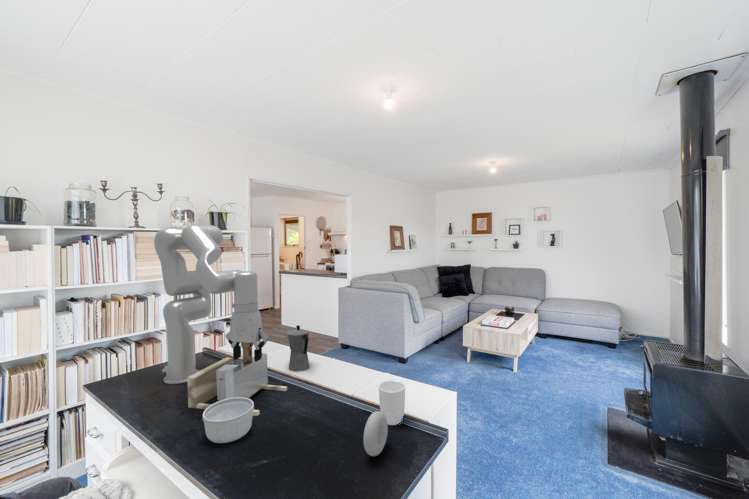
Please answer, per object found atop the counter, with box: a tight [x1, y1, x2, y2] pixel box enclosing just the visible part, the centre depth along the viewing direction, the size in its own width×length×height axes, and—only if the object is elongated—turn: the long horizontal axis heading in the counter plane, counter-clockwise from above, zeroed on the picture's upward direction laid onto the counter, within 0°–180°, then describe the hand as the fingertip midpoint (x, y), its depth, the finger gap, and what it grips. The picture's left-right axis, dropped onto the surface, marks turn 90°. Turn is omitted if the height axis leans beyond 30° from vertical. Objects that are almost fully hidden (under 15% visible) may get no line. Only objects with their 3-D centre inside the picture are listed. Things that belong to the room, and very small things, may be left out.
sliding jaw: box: [225, 343, 269, 399], centre depth 111 cm, size 4×19×20 cm, turn 166°
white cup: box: [378, 380, 406, 426], centre depth 97 cm, size 8×8×10 cm
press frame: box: [187, 357, 288, 417], centre depth 112 cm, size 26×19×10 cm
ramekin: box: [202, 397, 255, 444], centre depth 92 cm, size 13×13×7 cm
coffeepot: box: [287, 325, 310, 372], centre depth 138 cm, size 15×9×18 cm, turn 37°
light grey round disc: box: [362, 410, 389, 457], centre depth 82 cm, size 10×4×10 cm, turn 155°
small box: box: [216, 364, 239, 402], centre depth 113 cm, size 8×6×10 cm
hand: (247, 358), depth 111 cm, fingers open, 7 cm apart
